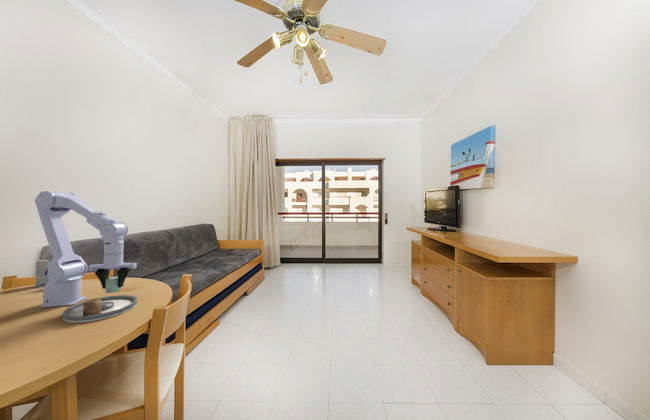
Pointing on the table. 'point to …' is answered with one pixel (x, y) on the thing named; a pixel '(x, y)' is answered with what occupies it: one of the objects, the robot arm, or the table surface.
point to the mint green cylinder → (111, 285)
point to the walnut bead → (92, 307)
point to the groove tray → (108, 309)
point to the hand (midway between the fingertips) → (113, 287)
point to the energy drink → (42, 272)
